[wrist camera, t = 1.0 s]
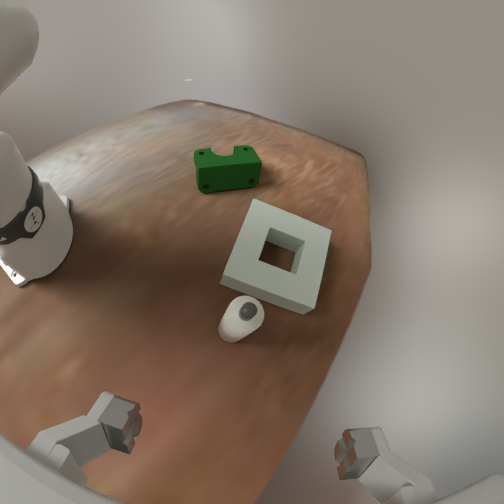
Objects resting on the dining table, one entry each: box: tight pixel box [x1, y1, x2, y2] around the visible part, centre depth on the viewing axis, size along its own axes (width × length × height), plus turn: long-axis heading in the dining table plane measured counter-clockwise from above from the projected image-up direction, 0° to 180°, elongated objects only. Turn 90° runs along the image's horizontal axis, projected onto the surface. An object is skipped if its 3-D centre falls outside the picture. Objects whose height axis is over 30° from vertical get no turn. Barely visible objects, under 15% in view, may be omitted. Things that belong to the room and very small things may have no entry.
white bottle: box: [218, 296, 264, 343], centre depth 33 cm, size 4×4×14 cm
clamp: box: [194, 145, 262, 193], centre depth 49 cm, size 12×6×9 cm, turn 101°
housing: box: [220, 199, 331, 315], centre depth 44 cm, size 14×14×4 cm
